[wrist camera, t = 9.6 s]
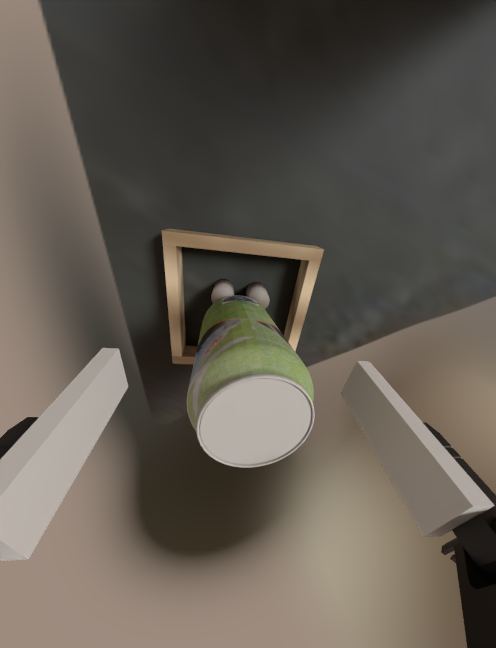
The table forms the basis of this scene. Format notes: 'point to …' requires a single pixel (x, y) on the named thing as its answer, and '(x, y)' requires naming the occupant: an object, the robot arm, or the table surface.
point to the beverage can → (248, 387)
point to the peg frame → (224, 288)
